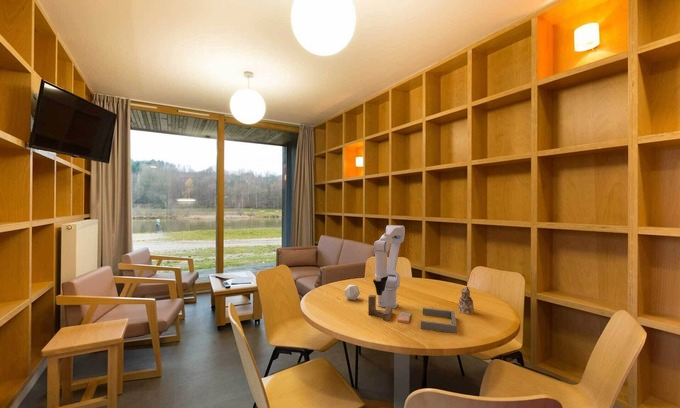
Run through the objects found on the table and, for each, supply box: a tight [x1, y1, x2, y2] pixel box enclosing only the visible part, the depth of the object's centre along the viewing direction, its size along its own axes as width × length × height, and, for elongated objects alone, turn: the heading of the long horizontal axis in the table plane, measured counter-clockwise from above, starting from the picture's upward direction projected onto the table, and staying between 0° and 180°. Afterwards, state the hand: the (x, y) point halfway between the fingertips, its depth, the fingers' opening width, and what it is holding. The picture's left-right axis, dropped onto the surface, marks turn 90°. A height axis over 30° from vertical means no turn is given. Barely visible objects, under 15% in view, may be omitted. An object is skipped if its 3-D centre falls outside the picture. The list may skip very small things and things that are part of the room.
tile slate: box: [398, 311, 412, 318], centre depth 142 cm, size 5×5×2 cm
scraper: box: [367, 294, 393, 322], centre depth 143 cm, size 10×11×9 cm
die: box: [343, 284, 361, 301], centre depth 168 cm, size 8×9×10 cm
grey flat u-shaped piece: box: [420, 307, 458, 334], centre depth 134 cm, size 14×19×3 cm
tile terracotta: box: [397, 315, 411, 324], centre depth 137 cm, size 5×5×2 cm
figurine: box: [457, 286, 475, 315], centre depth 149 cm, size 7×7×12 cm
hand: (380, 292), depth 144 cm, fingers open, 7 cm apart
